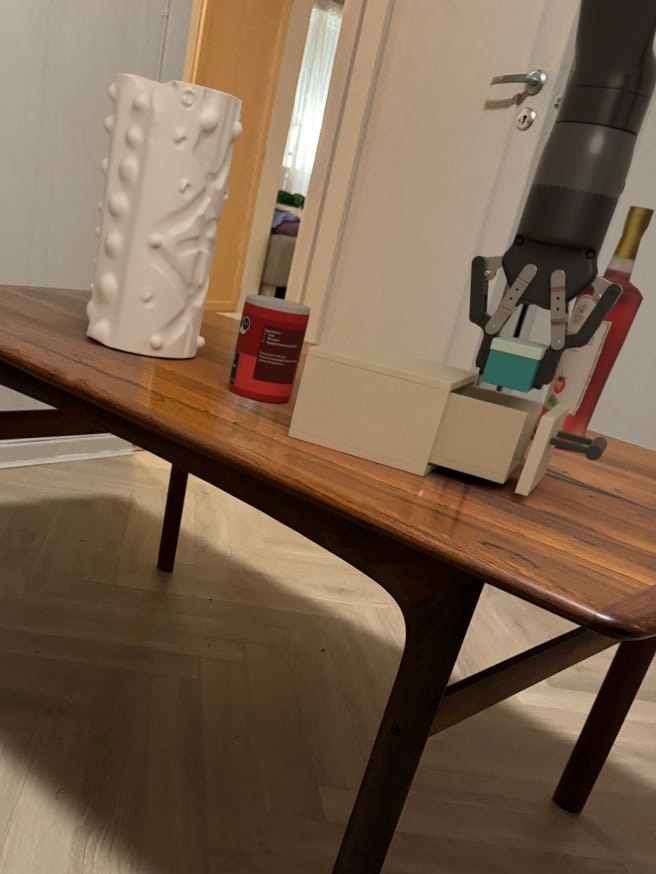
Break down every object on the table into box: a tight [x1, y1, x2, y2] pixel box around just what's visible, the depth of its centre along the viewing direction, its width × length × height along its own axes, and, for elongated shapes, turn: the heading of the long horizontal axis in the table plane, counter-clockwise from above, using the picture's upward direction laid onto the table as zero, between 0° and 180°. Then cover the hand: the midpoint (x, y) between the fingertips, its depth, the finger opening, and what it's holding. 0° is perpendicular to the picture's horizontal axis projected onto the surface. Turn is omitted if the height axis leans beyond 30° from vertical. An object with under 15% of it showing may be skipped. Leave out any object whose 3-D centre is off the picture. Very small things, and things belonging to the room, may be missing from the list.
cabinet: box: [287, 340, 479, 477], centre depth 94 cm, size 15×13×9 cm
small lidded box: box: [480, 335, 550, 394], centre depth 87 cm, size 5×7×4 cm
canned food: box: [228, 294, 312, 404], centre depth 109 cm, size 8×8×11 cm
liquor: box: [533, 205, 655, 451], centre depth 111 cm, size 7×7×28 cm
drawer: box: [429, 384, 608, 497], centre depth 90 cm, size 18×11×7 cm, turn 61°
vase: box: [85, 72, 243, 359], centre depth 120 cm, size 17×16×32 cm
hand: (510, 380), depth 88 cm, fingers closed on small lidded box, 4 cm apart
